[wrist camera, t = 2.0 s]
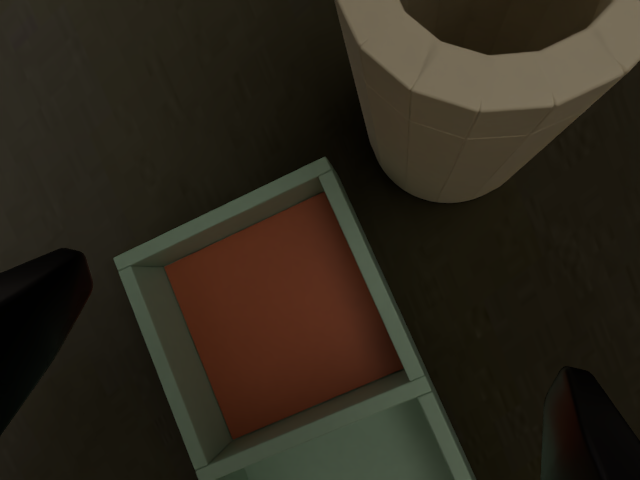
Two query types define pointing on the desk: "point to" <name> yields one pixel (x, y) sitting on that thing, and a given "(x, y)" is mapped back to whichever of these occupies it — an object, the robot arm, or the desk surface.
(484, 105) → the jar
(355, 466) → the divided box
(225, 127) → the desk surface
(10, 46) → the desk surface
